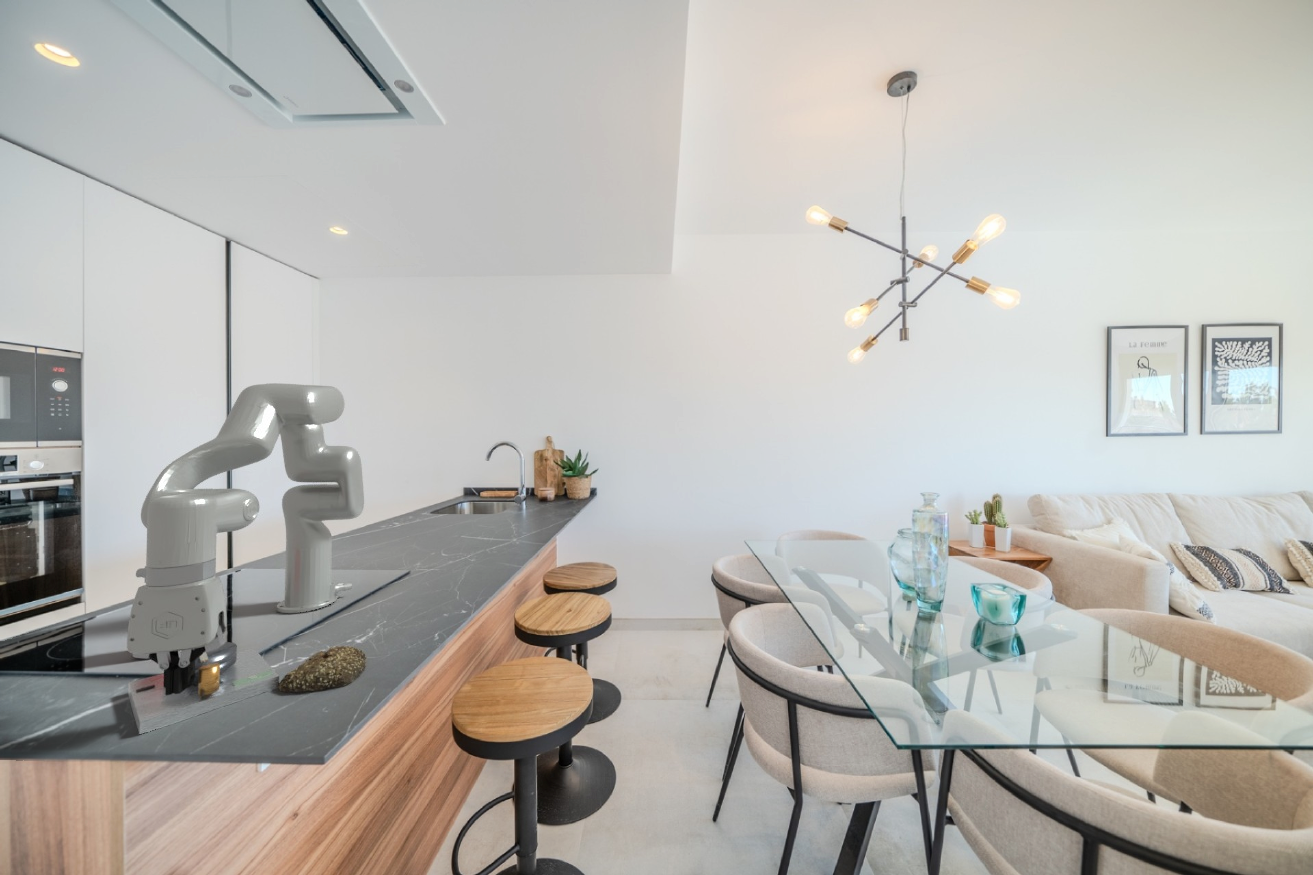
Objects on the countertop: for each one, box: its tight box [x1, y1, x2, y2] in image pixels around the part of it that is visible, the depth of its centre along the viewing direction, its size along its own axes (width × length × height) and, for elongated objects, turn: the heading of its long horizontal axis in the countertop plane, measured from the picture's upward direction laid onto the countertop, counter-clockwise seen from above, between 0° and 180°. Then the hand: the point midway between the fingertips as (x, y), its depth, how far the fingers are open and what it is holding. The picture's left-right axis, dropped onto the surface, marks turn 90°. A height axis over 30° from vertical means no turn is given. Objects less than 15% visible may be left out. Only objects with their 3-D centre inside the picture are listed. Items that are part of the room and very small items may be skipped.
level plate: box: [127, 647, 280, 735], centre depth 76 cm, size 16×17×3 cm
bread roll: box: [277, 645, 367, 693], centre depth 82 cm, size 13×12×5 cm
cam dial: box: [194, 641, 238, 696], centre depth 76 cm, size 17×9×4 cm, turn 50°
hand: (179, 689), depth 69 cm, fingers closed
